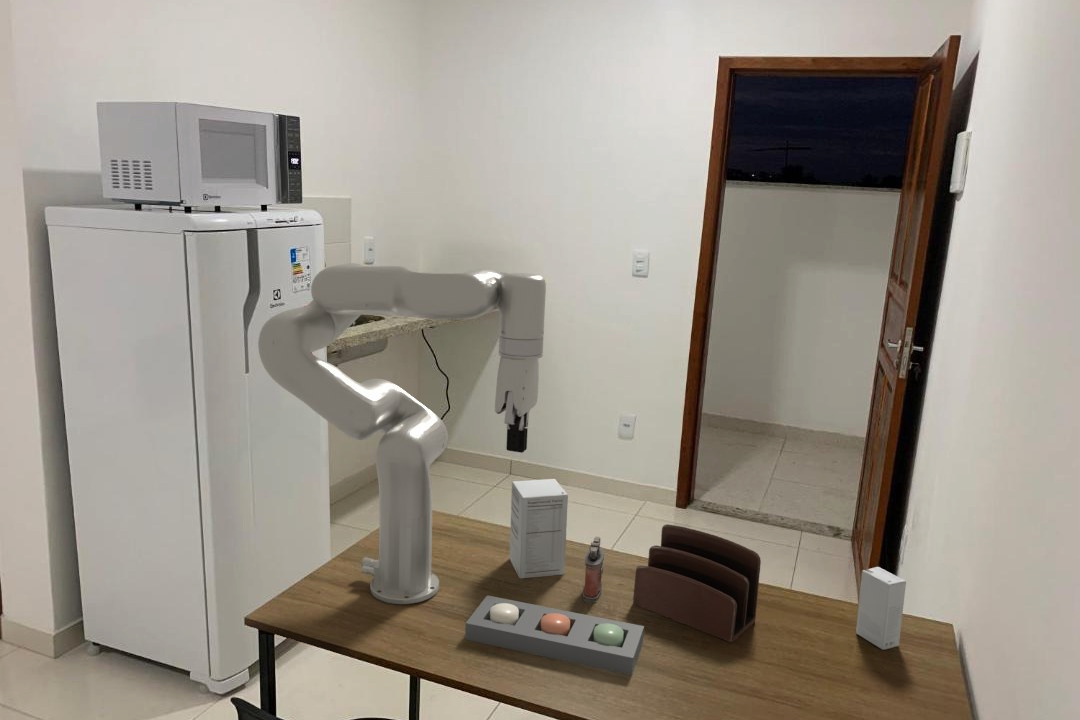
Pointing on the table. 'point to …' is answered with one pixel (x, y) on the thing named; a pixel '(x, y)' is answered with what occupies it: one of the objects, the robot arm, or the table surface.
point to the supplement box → (538, 528)
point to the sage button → (608, 635)
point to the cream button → (504, 613)
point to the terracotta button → (555, 624)
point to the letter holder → (700, 582)
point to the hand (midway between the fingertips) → (516, 450)
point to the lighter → (593, 571)
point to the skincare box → (880, 607)
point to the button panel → (556, 636)
